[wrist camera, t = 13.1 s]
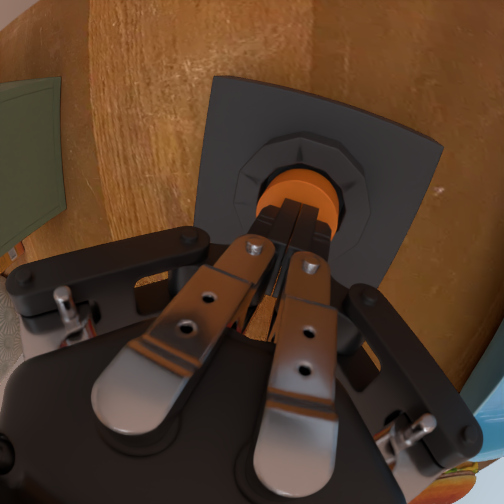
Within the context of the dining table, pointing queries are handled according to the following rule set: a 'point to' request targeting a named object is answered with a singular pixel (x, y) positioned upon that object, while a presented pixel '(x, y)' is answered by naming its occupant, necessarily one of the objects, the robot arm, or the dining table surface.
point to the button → (303, 194)
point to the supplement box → (11, 256)
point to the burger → (449, 485)
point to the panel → (313, 169)
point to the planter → (8, 333)
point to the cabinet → (29, 158)
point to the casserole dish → (488, 397)
